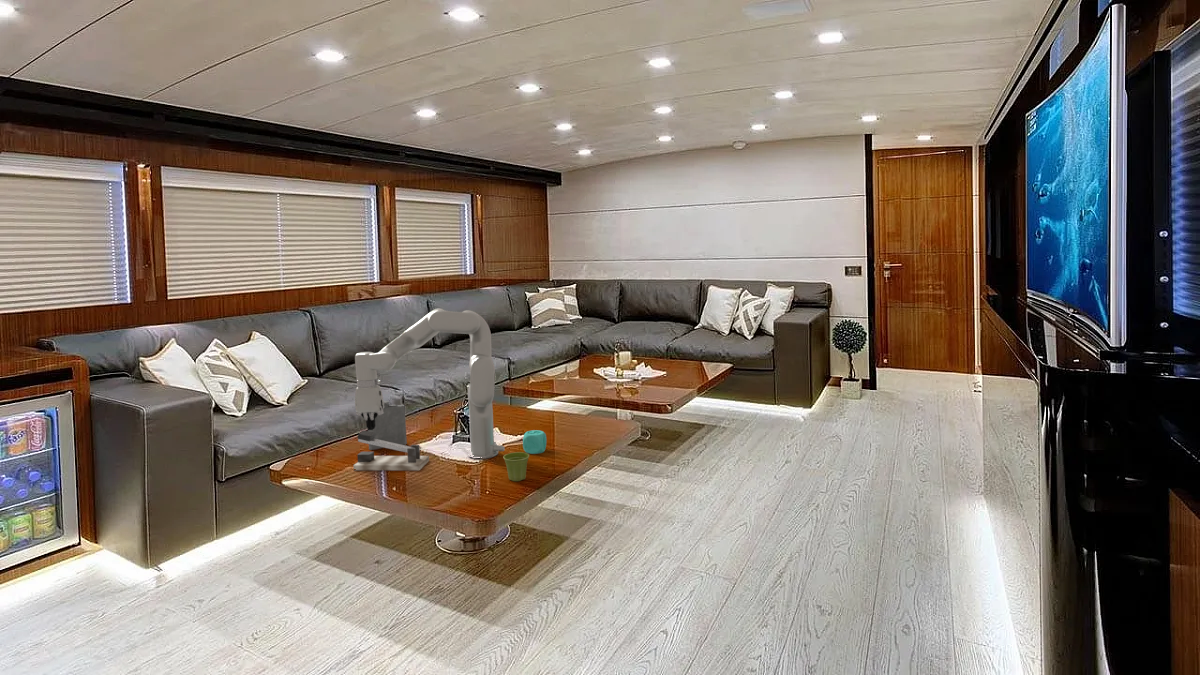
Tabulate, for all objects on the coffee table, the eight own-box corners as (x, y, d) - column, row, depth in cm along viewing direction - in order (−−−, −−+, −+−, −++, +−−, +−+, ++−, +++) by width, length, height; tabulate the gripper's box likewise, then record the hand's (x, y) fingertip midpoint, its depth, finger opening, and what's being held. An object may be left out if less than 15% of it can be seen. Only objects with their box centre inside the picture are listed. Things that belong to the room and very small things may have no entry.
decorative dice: (541, 454, 273) (540, 435, 272) (523, 453, 275) (522, 434, 274) (546, 448, 281) (546, 430, 280) (528, 448, 283) (528, 429, 282)
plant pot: (529, 482, 240) (528, 459, 239) (503, 483, 239) (502, 460, 238) (530, 473, 249) (529, 451, 248) (505, 475, 249) (504, 452, 247)
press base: (429, 460, 268) (428, 442, 267) (419, 470, 256) (418, 451, 255) (366, 460, 270) (365, 442, 269) (353, 470, 258) (352, 451, 257)
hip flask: (369, 450, 284) (366, 404, 282) (368, 447, 288) (365, 402, 285) (407, 444, 291) (404, 400, 289) (405, 442, 295) (403, 398, 292)
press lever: (415, 450, 264) (416, 442, 264) (411, 454, 259) (412, 445, 259) (362, 438, 265) (363, 430, 264) (356, 442, 260) (358, 433, 260)
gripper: (389, 381, 262) (393, 426, 265) (353, 382, 264) (357, 427, 266) (382, 385, 255) (386, 431, 257) (344, 386, 256) (348, 432, 259)
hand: (371, 429), depth 262 cm, fingers closed
